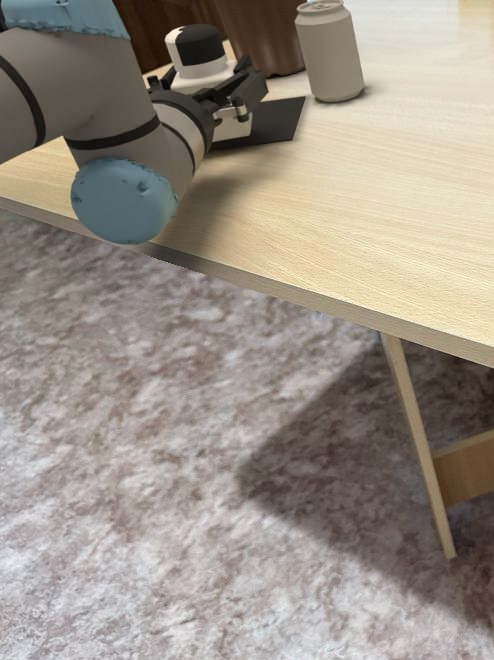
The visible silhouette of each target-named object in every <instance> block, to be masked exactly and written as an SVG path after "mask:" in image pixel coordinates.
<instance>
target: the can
mask: <svg viewBox="0 0 494 660" xmlns="http://www.w3.org/2000/svg"><path fill="white" fill-rule="evenodd" d="M344 3H345V2H344V0H310V1H307V3H304V4H301V5H300V6H298V7H297V11H298V12H299V14H298V16H297V18H296V20H295V25H296V29H297V33H298V38H299V42H300V46H301V50H302V54H303V58H304V62H305V67H306V69H305V71H306V74H307V78H308V82H309V88H310V91H311V95H313V96H314V97H315V98H318V100H319V101H321V102H325V103H339V102H344V101H348V100H351V99H354V98H356V97H357V96H359V95H360V93H361V91H362V90H363V89H364V87H365V80H364V74H363V70H362V63H361V59H360V53H359V48H358V43H357V38H356V33H355V27H354V21H353V18H352V13H351V11H350V10H349V9H347V8H346V7H345V6H344Z"/></svg>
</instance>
